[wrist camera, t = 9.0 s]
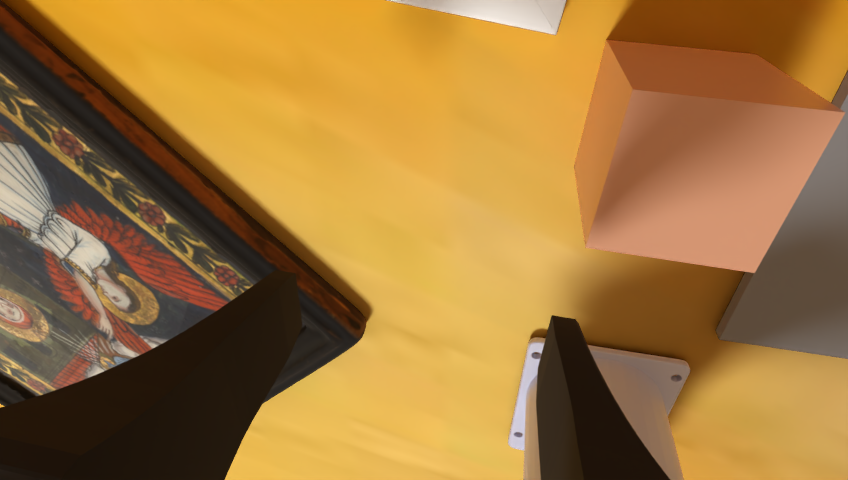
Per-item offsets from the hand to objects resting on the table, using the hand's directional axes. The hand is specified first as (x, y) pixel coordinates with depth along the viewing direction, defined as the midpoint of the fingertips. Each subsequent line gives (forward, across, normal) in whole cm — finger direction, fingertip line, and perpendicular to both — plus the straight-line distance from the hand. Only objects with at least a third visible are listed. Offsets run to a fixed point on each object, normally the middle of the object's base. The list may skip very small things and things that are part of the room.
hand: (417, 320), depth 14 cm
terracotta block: (+10, -7, -3) cm, 12 cm away
